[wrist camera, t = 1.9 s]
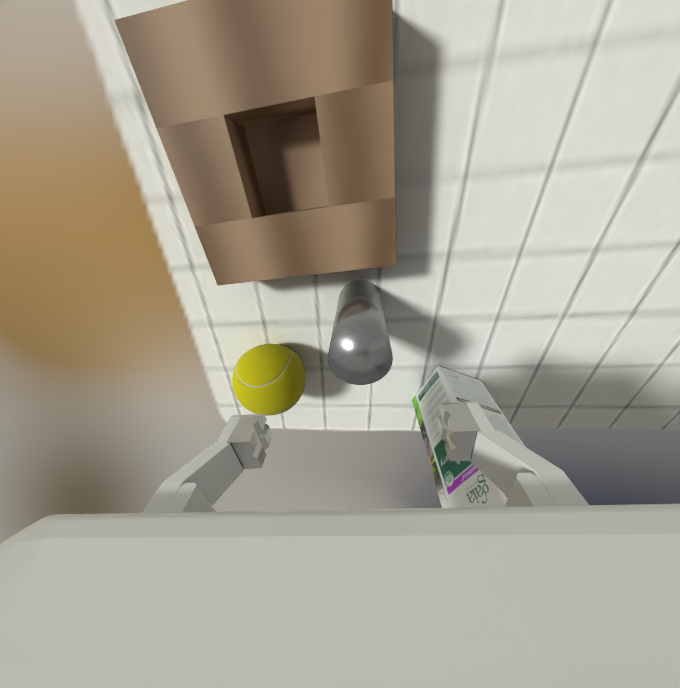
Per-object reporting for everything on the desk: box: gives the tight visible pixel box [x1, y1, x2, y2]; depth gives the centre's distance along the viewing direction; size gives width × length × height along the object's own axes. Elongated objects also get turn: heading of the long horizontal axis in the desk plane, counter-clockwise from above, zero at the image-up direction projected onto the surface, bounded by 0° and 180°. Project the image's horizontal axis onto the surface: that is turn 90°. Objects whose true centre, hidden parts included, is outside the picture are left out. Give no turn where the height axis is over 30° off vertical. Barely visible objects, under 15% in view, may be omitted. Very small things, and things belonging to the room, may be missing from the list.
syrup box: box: [412, 366, 525, 508], centre depth 23 cm, size 6×6×14 cm
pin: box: [328, 280, 393, 385], centre depth 20 cm, size 4×4×10 cm
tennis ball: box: [233, 344, 305, 415], centre depth 25 cm, size 7×7×7 cm
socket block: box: [115, 0, 396, 285], centre depth 17 cm, size 14×14×4 cm
